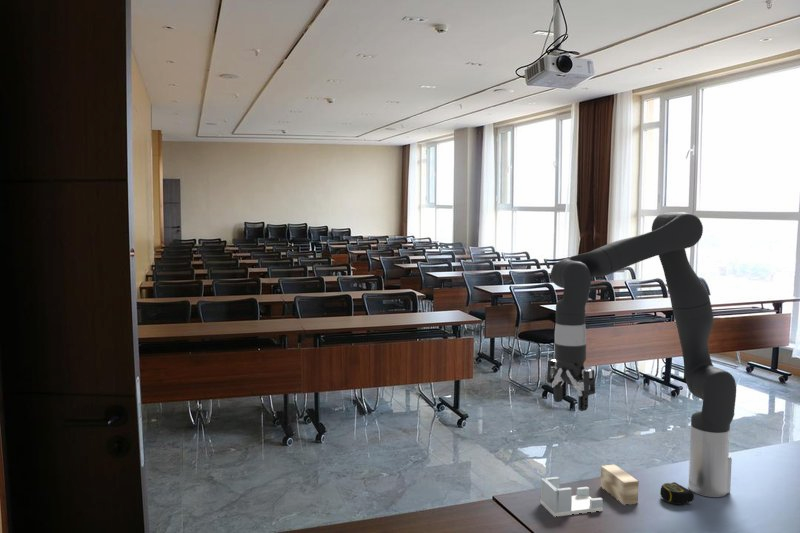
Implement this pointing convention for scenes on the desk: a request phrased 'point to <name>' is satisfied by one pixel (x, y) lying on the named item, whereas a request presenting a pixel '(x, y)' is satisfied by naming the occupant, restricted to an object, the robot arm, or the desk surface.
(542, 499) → the bracket board
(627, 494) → the beech rail
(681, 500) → the tape measure
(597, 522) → the desk surface
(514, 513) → the desk surface
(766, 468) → the desk surface
